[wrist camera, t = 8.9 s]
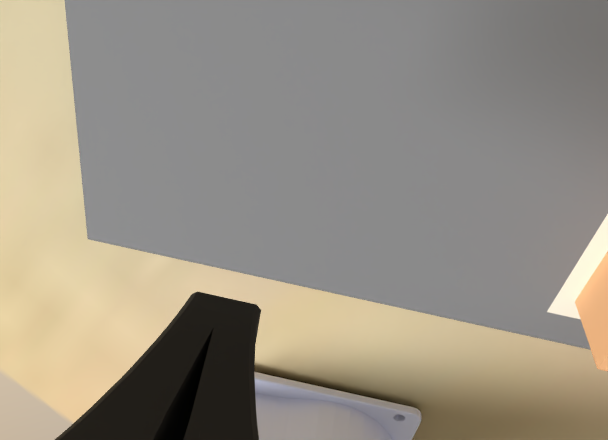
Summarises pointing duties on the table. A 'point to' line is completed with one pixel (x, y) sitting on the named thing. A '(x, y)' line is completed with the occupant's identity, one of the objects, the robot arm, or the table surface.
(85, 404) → the table surface
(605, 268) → the t block
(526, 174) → the mat
